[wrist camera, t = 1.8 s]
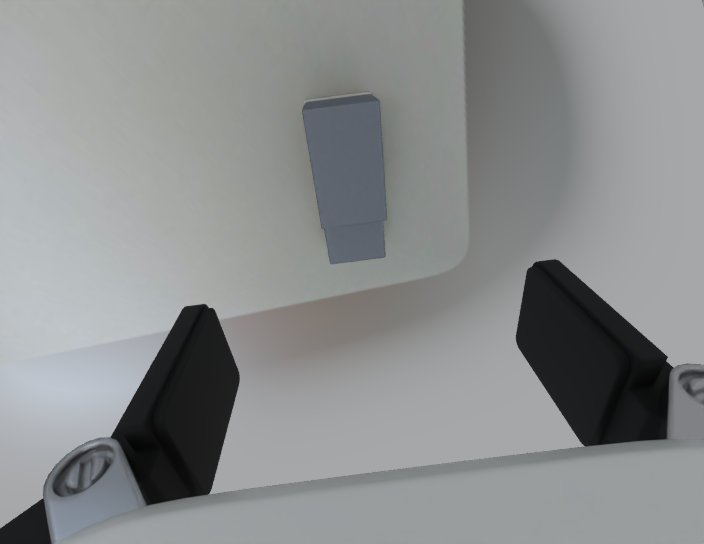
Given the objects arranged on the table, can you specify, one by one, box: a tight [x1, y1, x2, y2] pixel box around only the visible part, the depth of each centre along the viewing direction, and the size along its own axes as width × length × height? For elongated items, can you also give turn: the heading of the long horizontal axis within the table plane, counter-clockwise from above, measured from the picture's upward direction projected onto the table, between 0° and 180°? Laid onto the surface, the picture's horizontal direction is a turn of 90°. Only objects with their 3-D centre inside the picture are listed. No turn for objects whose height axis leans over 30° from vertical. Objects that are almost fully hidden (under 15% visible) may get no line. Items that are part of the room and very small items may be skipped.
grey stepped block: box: [302, 92, 387, 264], centre depth 24 cm, size 11×4×6 cm, turn 6°
